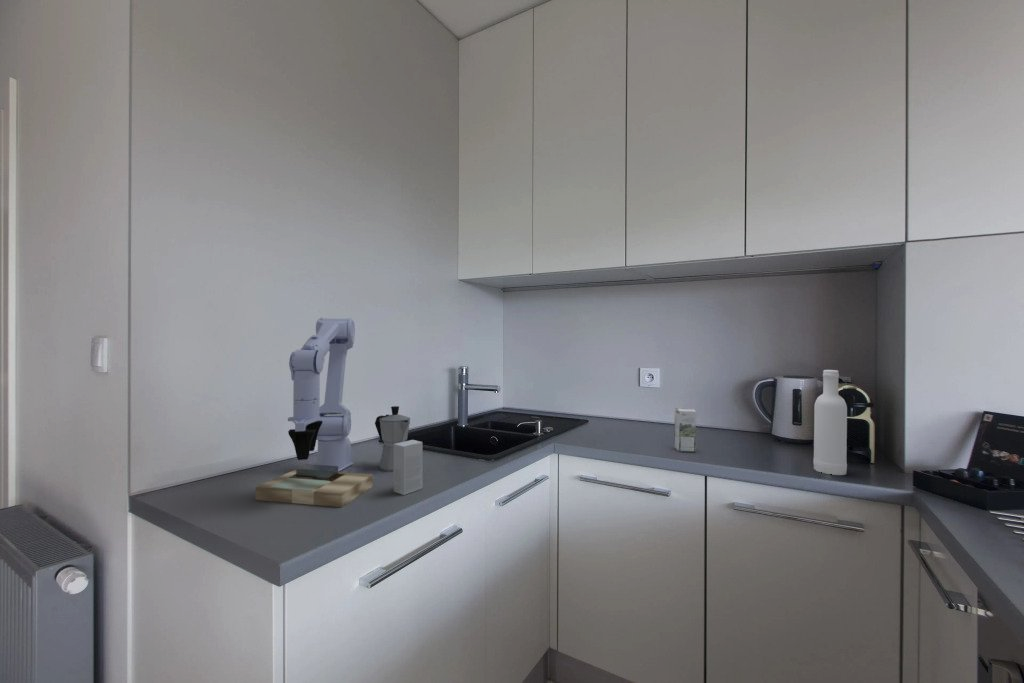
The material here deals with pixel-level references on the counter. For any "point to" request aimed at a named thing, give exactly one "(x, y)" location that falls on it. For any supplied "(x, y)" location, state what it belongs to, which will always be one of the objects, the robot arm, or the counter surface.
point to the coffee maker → (391, 435)
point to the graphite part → (317, 471)
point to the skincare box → (408, 466)
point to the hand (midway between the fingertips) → (306, 454)
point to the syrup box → (685, 430)
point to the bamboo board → (315, 489)
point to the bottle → (830, 428)
